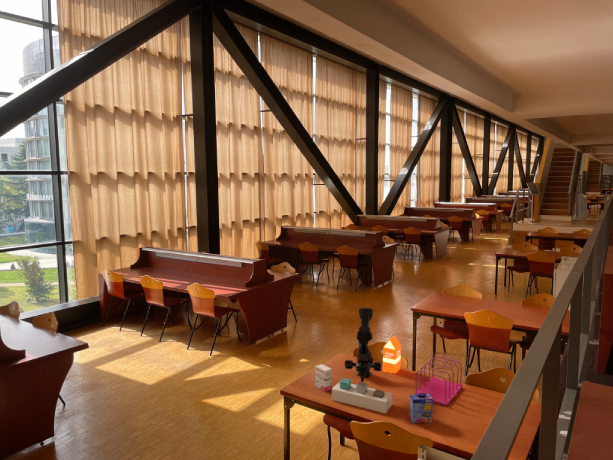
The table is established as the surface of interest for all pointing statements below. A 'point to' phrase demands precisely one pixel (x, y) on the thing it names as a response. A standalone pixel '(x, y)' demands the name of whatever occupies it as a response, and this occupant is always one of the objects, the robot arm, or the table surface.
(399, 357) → the orange juice
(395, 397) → the table surface
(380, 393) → the charcoal key
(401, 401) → the table surface
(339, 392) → the keypad
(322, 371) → the ink box
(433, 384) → the file sorter
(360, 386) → the slate key
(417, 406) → the ink cartridge box
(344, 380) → the teal key
